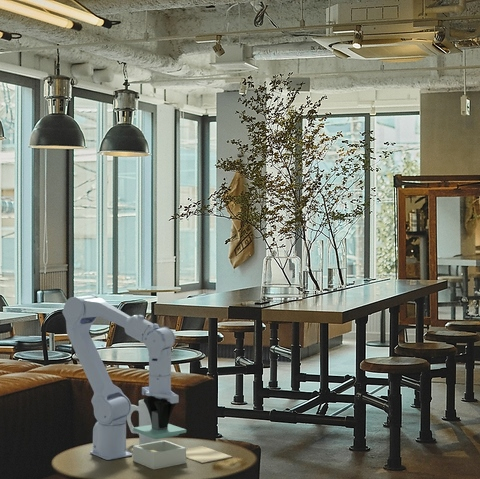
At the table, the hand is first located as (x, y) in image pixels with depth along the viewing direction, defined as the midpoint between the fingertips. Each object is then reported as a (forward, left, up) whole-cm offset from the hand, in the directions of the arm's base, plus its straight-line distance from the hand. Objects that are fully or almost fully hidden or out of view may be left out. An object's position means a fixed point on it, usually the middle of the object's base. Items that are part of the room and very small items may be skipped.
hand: (159, 426), depth 238 cm
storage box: (0, 0, -9) cm, 9 cm away
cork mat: (+1, +13, -9) cm, 16 cm away
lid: (0, 0, -2) cm, 2 cm away
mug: (-19, +8, -10) cm, 23 cm away
